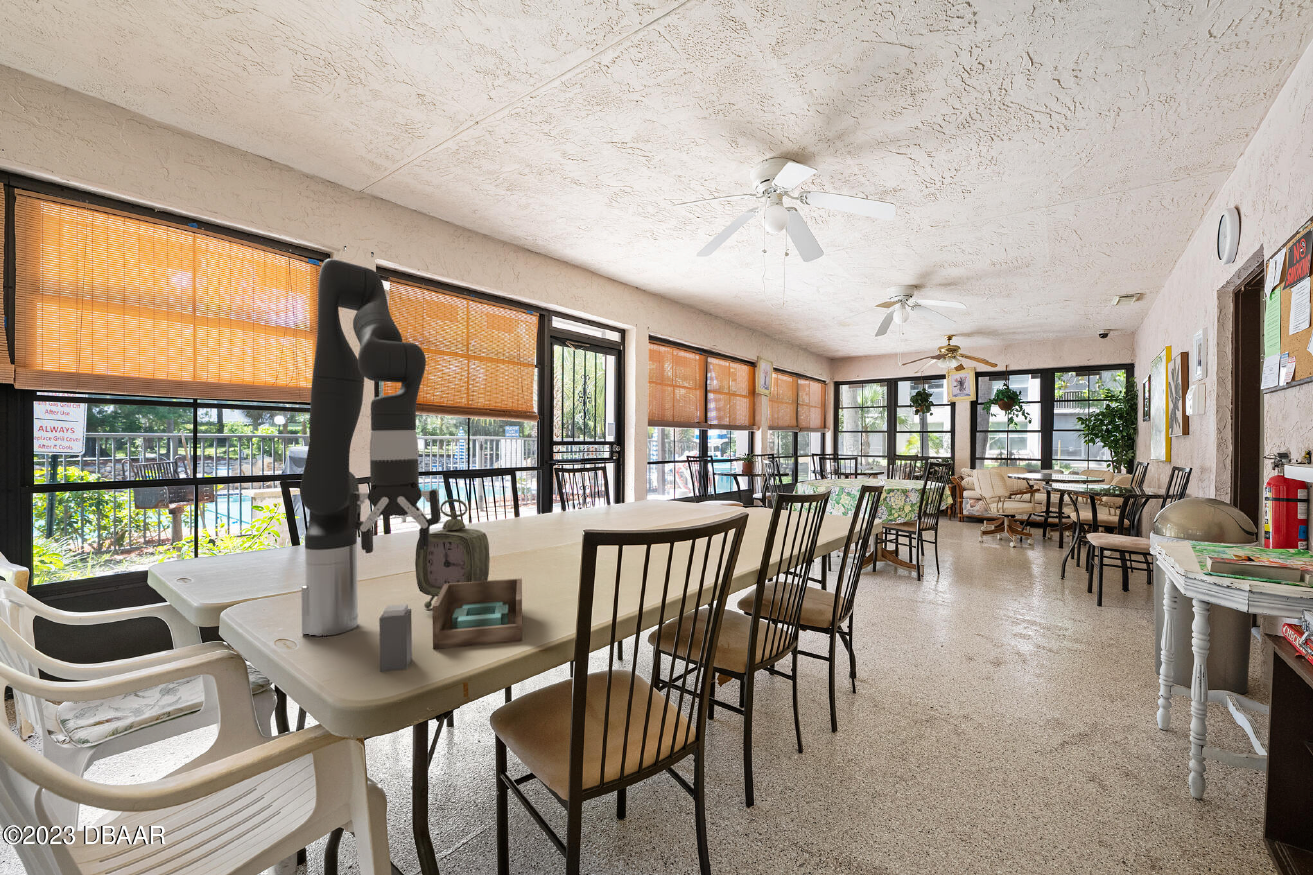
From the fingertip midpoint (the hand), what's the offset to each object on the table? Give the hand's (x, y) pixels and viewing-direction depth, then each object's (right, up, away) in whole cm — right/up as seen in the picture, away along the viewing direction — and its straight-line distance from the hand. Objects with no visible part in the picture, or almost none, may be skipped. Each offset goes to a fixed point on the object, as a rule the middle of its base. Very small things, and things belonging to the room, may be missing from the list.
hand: (396, 550), depth 95 cm
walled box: (+9, -20, +16) cm, 27 cm away
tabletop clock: (-2, -20, +32) cm, 38 cm away
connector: (0, -20, 0) cm, 20 cm away
